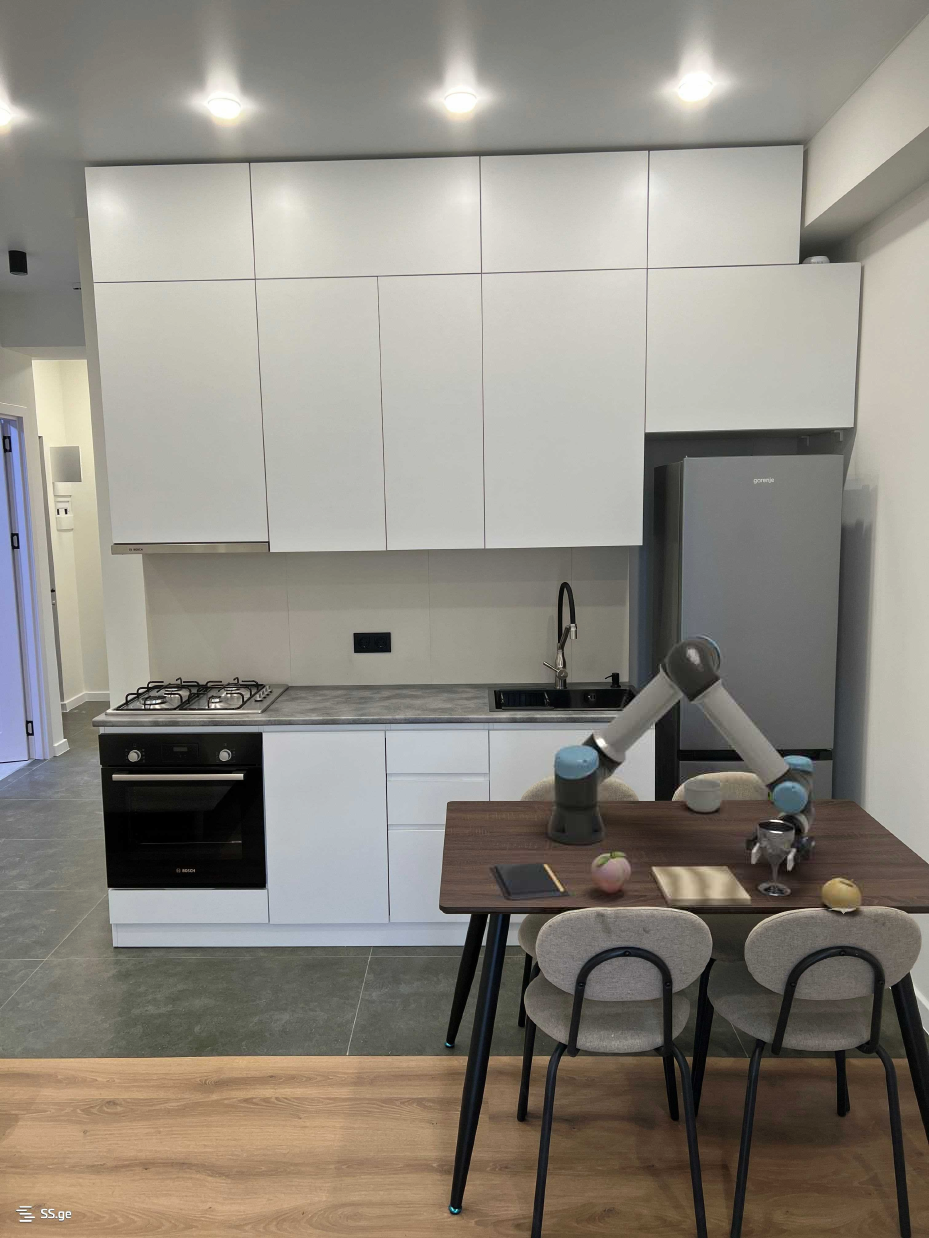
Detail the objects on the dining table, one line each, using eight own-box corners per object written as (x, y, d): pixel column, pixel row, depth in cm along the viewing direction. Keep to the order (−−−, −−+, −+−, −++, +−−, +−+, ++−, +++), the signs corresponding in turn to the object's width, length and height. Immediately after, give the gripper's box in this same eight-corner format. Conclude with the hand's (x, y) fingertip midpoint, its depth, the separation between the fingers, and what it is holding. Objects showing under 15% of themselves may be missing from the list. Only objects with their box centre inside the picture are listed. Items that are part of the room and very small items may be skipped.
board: (668, 905, 191) (669, 898, 191) (651, 872, 209) (651, 866, 209) (750, 904, 191) (750, 898, 191) (726, 872, 209) (726, 866, 209)
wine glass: (798, 896, 195) (800, 832, 193) (762, 896, 195) (764, 832, 194) (785, 882, 203) (787, 820, 201) (751, 882, 203) (752, 820, 201)
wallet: (489, 861, 214) (549, 857, 216) (489, 869, 214) (549, 865, 216) (503, 895, 194) (570, 891, 196) (503, 904, 194) (570, 899, 196)
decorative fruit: (607, 881, 204) (607, 840, 203) (636, 891, 198) (636, 849, 197) (582, 893, 198) (582, 851, 197) (611, 904, 192) (611, 860, 191)
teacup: (723, 816, 249) (723, 789, 248) (684, 814, 251) (684, 787, 250) (719, 801, 262) (719, 775, 262) (682, 799, 265) (682, 773, 264)
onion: (821, 913, 187) (822, 881, 186) (820, 898, 194) (821, 867, 193) (862, 918, 184) (863, 886, 183) (859, 903, 191) (860, 872, 191)
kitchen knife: (749, 791, 275) (749, 781, 275) (753, 791, 276) (753, 781, 275) (782, 808, 253) (782, 798, 253) (786, 808, 253) (786, 797, 253)
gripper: (832, 851, 209) (817, 885, 189) (747, 837, 219) (725, 868, 199) (833, 821, 208) (818, 852, 188) (748, 808, 218) (726, 837, 198)
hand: (770, 860), depth 194 cm, fingers closed on wine glass, 7 cm apart
